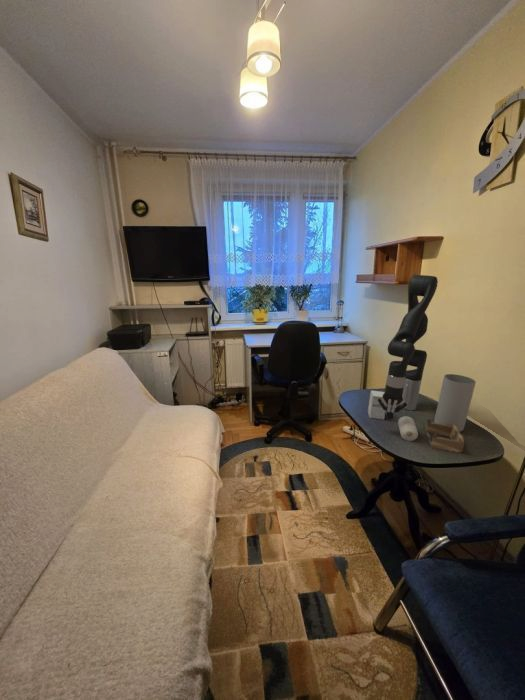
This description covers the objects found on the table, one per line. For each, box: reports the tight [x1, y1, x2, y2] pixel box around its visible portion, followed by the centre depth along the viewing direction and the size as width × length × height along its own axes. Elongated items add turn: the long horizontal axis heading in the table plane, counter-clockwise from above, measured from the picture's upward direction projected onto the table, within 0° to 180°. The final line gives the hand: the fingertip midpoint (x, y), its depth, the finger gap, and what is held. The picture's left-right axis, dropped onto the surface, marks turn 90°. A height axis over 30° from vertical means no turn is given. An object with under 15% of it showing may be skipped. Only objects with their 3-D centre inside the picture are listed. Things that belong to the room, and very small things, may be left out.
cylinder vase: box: [433, 373, 477, 433], centre depth 138 cm, size 12×12×25 cm
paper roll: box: [397, 415, 419, 442], centre depth 132 cm, size 10×7×7 cm
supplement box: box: [367, 390, 387, 420], centre depth 147 cm, size 7×7×13 cm
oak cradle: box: [424, 418, 465, 453], centre depth 127 cm, size 14×11×7 cm
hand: (388, 418), depth 133 cm, fingers closed
